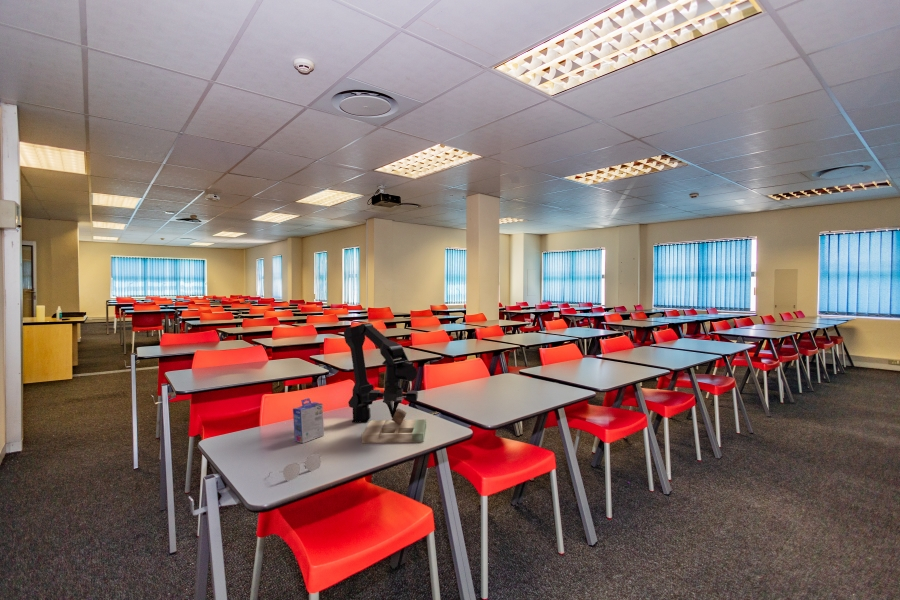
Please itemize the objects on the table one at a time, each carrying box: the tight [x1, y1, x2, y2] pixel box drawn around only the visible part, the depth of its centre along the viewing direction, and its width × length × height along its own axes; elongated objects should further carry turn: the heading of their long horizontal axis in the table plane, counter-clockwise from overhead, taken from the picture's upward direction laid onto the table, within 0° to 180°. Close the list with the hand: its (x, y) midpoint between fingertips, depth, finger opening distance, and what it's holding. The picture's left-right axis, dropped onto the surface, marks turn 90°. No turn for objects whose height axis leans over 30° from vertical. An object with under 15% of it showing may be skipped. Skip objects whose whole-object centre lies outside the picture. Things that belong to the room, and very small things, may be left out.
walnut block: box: [391, 407, 407, 425], centre depth 163 cm, size 4×4×4 cm
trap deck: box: [361, 419, 427, 444], centre depth 159 cm, size 22×16×3 cm
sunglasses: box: [268, 453, 322, 482], centre depth 129 cm, size 14×8×5 cm, turn 144°
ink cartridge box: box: [292, 398, 325, 444], centre depth 157 cm, size 10×6×14 cm, turn 145°
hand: (392, 417), depth 163 cm, fingers closed, pressing on walnut block
